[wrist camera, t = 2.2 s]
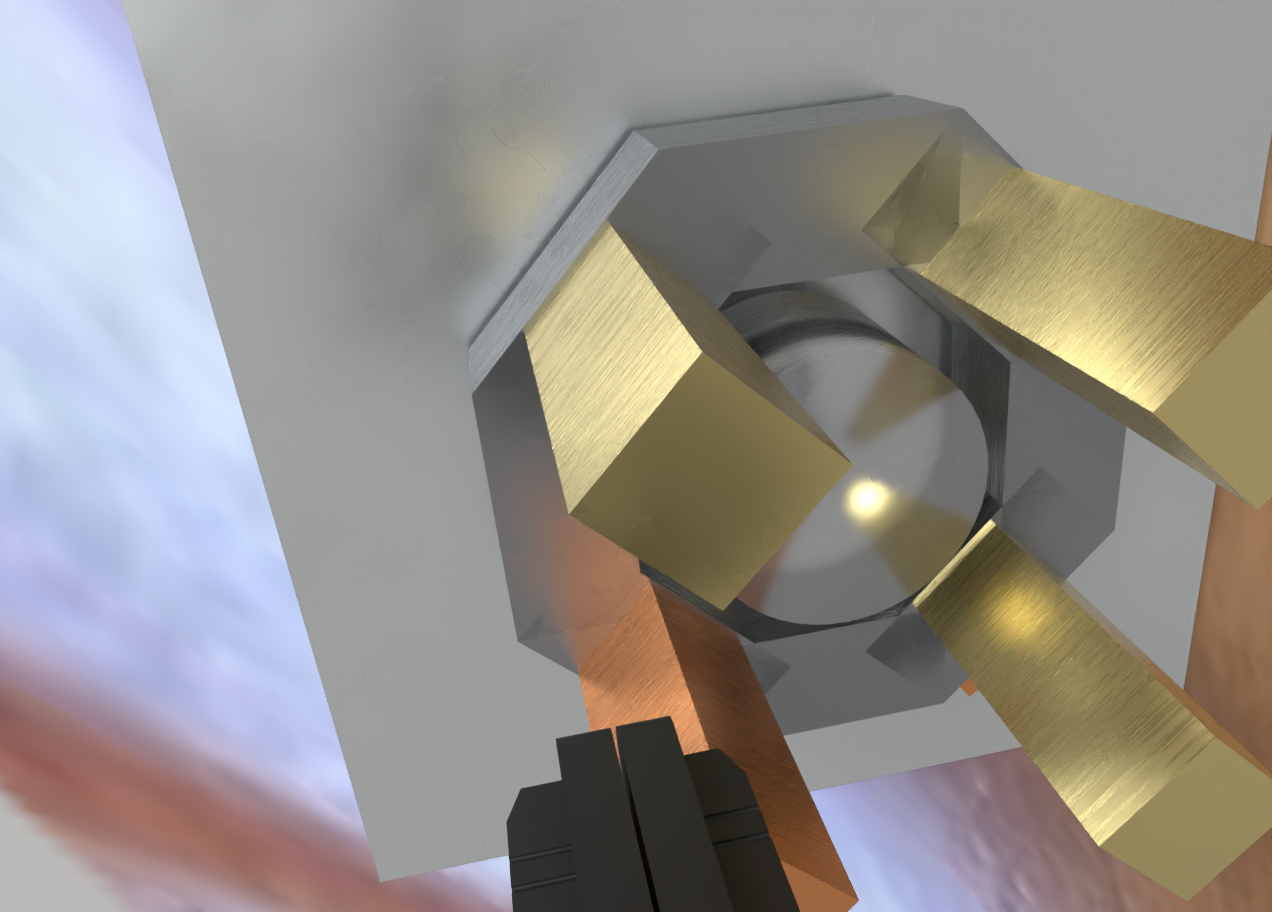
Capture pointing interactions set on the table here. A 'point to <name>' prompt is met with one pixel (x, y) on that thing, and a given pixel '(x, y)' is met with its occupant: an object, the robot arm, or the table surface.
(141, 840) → the table surface
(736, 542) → the octagonal frame
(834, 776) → the base plate
